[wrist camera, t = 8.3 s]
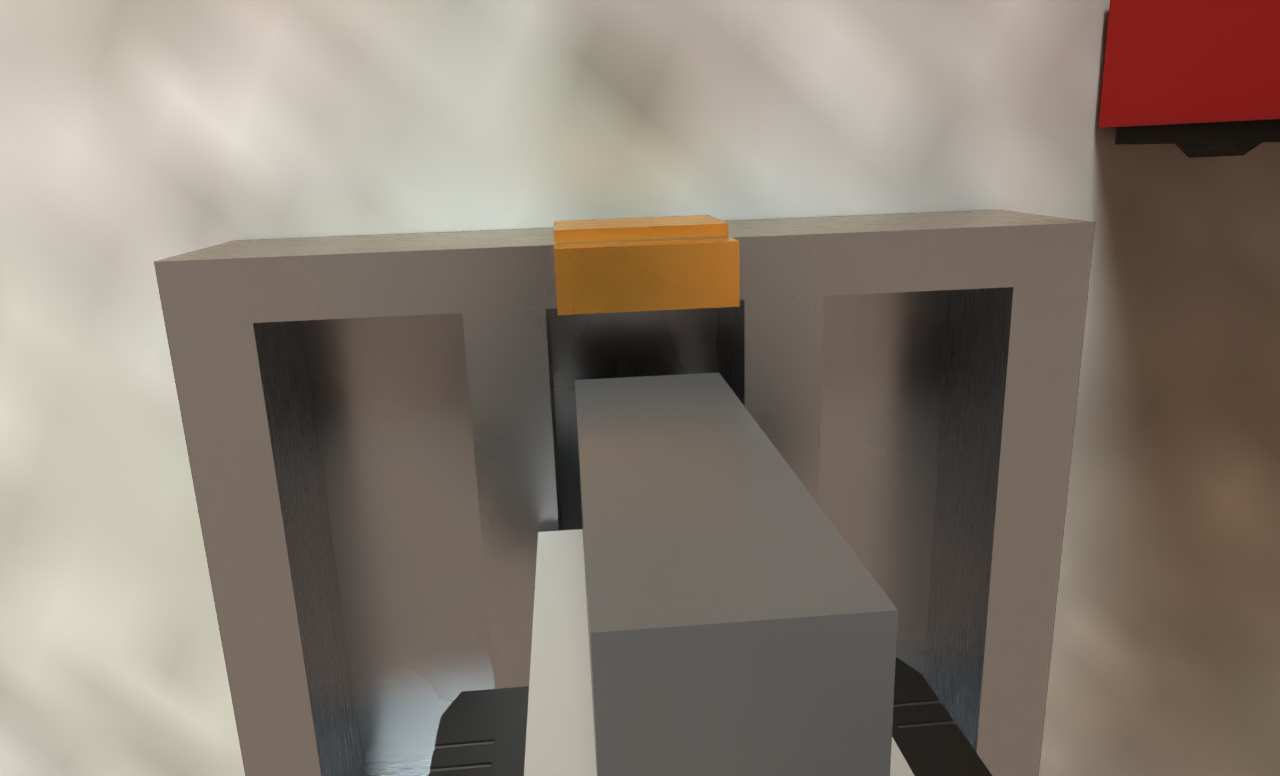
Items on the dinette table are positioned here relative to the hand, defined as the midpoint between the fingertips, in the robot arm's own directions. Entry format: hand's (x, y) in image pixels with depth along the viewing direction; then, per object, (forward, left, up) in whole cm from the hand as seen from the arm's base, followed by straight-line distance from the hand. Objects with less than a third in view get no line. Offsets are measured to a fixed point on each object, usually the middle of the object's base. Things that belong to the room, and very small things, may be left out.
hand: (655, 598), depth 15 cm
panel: (0, 0, 0) cm, 0 cm away
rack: (0, 0, -4) cm, 4 cm away
